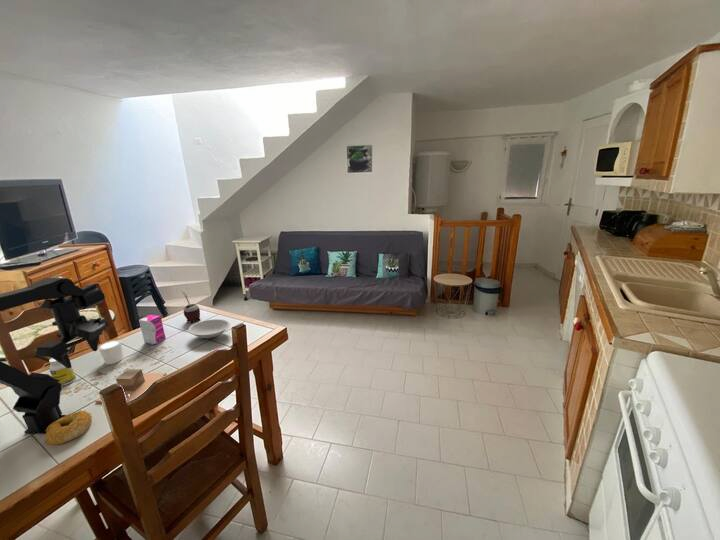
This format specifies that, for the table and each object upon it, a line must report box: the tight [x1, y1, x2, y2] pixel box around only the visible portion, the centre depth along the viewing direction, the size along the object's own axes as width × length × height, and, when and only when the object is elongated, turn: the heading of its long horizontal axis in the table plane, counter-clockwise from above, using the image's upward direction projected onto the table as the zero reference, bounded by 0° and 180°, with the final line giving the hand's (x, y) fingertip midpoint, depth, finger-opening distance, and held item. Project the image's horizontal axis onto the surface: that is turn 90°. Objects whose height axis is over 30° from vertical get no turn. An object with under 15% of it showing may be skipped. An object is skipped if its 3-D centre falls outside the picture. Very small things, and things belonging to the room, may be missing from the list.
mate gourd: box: [181, 290, 201, 325], centre depth 147 cm, size 8×8×15 cm
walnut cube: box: [115, 368, 145, 391], centre depth 102 cm, size 5×5×5 cm
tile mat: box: [95, 372, 167, 404], centre depth 103 cm, size 14×14×1 cm
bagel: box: [44, 410, 93, 446], centre depth 85 cm, size 10×11×5 cm
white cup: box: [98, 339, 124, 365], centre depth 118 cm, size 7×7×7 cm
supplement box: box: [138, 314, 166, 346], centre depth 130 cm, size 6×6×12 cm
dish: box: [187, 318, 231, 339], centre depth 134 cm, size 18×14×5 cm
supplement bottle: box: [48, 357, 76, 387], centre depth 105 cm, size 5×5×10 cm
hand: (82, 359), depth 97 cm, fingers open, 9 cm apart
